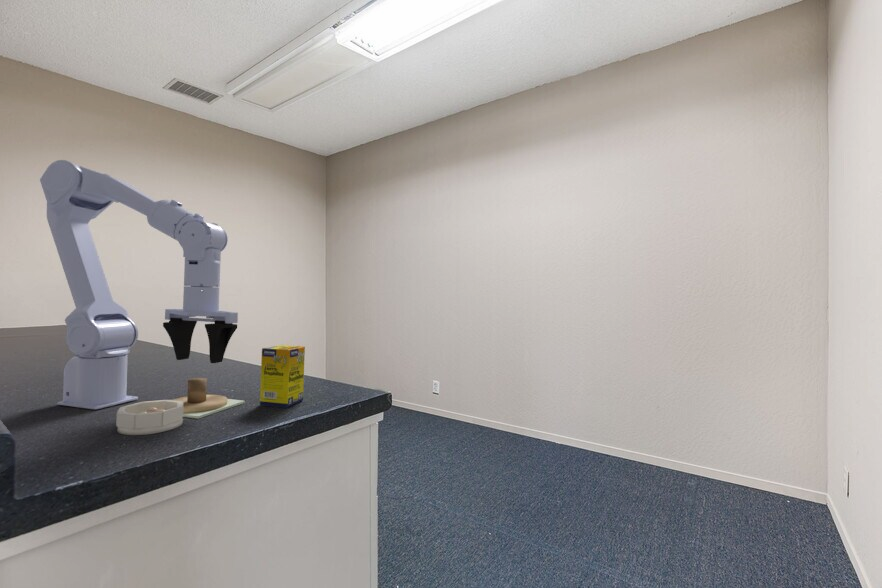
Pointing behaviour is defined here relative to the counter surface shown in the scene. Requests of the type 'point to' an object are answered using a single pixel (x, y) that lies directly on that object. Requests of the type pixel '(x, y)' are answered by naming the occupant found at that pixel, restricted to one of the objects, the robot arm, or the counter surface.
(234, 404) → the mat
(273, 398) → the supplement box
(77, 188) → the robot arm
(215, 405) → the lid
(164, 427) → the bowl
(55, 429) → the counter surface
